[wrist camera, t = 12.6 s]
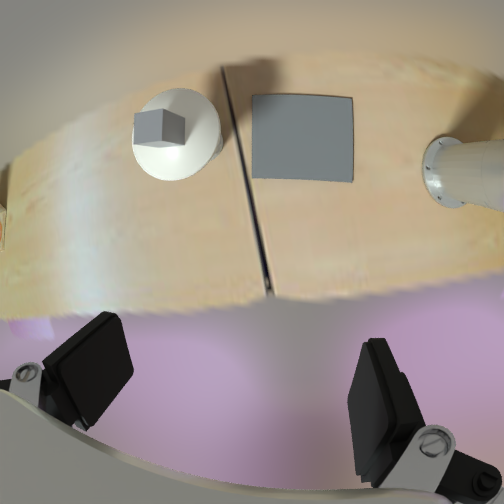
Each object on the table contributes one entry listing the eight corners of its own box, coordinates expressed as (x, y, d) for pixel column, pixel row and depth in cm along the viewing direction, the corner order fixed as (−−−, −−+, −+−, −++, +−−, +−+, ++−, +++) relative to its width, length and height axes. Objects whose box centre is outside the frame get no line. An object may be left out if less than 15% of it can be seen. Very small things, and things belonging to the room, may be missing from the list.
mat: (351, 99, 37) (351, 98, 36) (351, 182, 41) (352, 182, 40) (252, 95, 39) (252, 95, 39) (252, 178, 43) (251, 178, 42)
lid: (222, 85, 28) (204, 65, 22) (220, 179, 32) (201, 180, 25) (137, 98, 30) (107, 87, 24) (135, 182, 34) (104, 186, 27)
